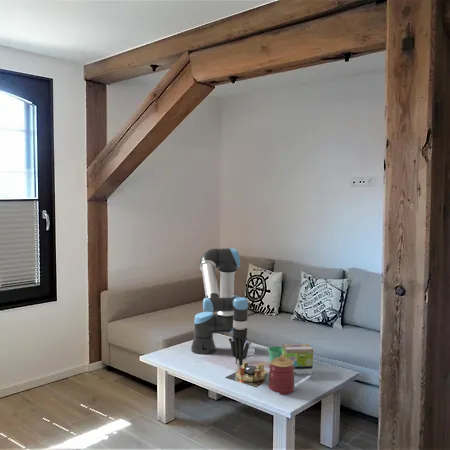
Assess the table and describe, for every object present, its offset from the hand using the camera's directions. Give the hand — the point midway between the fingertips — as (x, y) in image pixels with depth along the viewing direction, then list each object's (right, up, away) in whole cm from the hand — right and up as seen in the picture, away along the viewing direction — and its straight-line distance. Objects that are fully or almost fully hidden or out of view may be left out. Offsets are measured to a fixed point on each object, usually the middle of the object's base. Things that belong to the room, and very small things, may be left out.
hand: (239, 370), depth 257 cm
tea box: (+32, -5, +12) cm, 35 cm away
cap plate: (+7, -5, +3) cm, 8 cm away
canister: (+21, -6, -11) cm, 25 cm away
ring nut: (+7, -4, +3) cm, 8 cm away
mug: (+24, -4, +22) cm, 33 cm away
